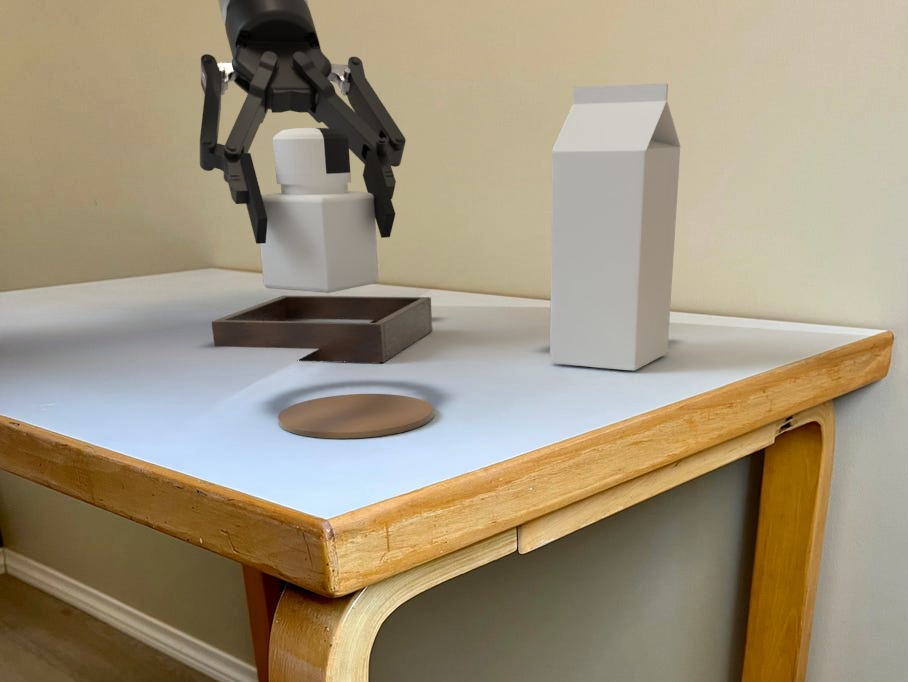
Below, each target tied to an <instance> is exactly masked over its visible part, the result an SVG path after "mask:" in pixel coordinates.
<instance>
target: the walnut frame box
mask: <svg viewBox="0 0 908 682" xmlns="http://www.w3.org/2000/svg"><path fill="white" fill-rule="evenodd" d="M289 320H294V321H289ZM295 320H340V321H295ZM343 320H345V322H344V321H343ZM347 320H348V321H349V320H350V322H347ZM341 321H343V322H341ZM351 321H369V322H351ZM211 330H212V337H213V345H214V347H225V348H268V349H308V350H309V349H310V350H311V349H312V350H314V351H312V352H311V353H309V354H307V355H305V356H303V357H301V358H299V359H297V360H296V362H320V361H342V362H341V363H358V362H384V363H385V362H387V361H388V360H390V359H392V358H393V357H395V356H396V355H398V354H399V353H401V352H402V351H404V350H405V349H407V348H409V347H410V346H411V345H413V344H414V343H416V342H418V341H419V340H421V339H422V338H424V337H425V336H427V335H428V334H430V333H431V332H432V331H433V315H432V297H430V296H365V295H363V296H362V295H361V296H360V295H359V296H358V295H357V296H356V295H281V296H277V297H275V298H271V299H269V300H266V301H264V302H261V303H258V304H256V305H253V306H251V307H247V308H245V309H242V310H239V311H237V312H233V313H231V314H228V315H226V316H223V317H220V318H217V319H215V320H213V321H212V320H211ZM409 345H410V346H409ZM406 347H407V348H406ZM404 348H405V349H404ZM403 349H404V350H403ZM401 350H402V351H401ZM400 351H401V352H400ZM398 352H399V353H398ZM395 354H396V355H395ZM392 356H393V357H392ZM389 358H390V359H389ZM298 360H299V361H298ZM386 360H387V361H386ZM344 361H345V362H344Z"/></svg>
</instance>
